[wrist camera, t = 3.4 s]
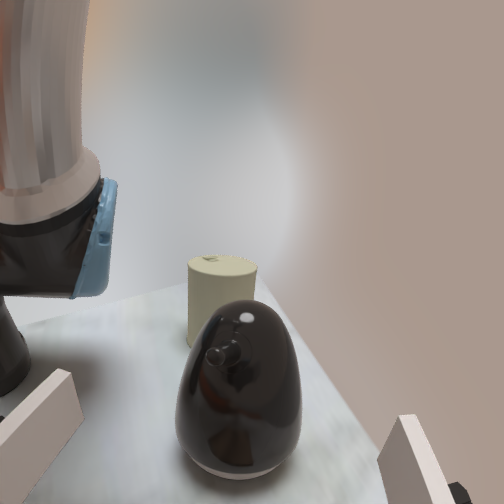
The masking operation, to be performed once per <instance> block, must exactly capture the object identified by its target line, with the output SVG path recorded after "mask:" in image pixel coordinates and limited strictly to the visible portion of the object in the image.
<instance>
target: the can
mask: <svg viewBox="0 0 504 504" xmlns="http://www.w3.org/2000/svg"><path fill="white" fill-rule="evenodd" d="M256 272H257V265H256V264H255V263H254V262H252V261H250V260H247V259H244V258H240V257H235V256H227V255H205V256H199V257H196V258H193V259H191V260H189V262H188V334H187V343H188V345H189V346H190V347H191V348H192V346H193V344H194V341H195V339H196V337H197V335H198V334H199V332H200V330H201V328H202V327H203V325H204V324H205V322H206V321H207V320H208V319H209V317H210V316H211V315H212V314H213V313H214V312H215V311H216V310H217V309H218V308H219V307H221V306H222V305H224V304H226V303H229V302H231V301H235V300H242V299H248V300H254V290H255V280H256Z"/></svg>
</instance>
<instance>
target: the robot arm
mask: <svg viewBox="0 0 504 504" xmlns="http://www.w3.org/2000/svg"><path fill="white" fill-rule="evenodd" d="M89 3H90V0H0V396H2V395H4V394H6V393H7V392H9V391H11V390H12V389H13V388H15V387H16V386H17V385H18V384H19V383H20V382H21V381H22V380H23V379H24V377H25V376H26V374H27V372H28V370H29V367H30V355H29V352H28V348H27V344H26V341H25V339H24V337H23V336H22V334H21V333H20V332H19V331H18V329H17V327H16V325H15V323H14V321H13V319H12V317H11V315H10V313H9V311H8V309H7V307H6V305H5V301H4V297H3V296H22V297H43V298H69V299H75V298H76V297H92V296H98V295H100V294H102V293H103V292H104V291H105V289H106V288H107V285H108V281H109V268H110V255H111V244H112V233H113V222H114V214H115V205H116V197H117V187H118V185H117V182H116V181H114V180H111V179H109V178H107V177H106V178H102V179H101V178H100V165H99V161H98V159H97V157H96V156H95V154H94V153H93V152H91V151H90V150H88V149H87V148H86V147H84V146H82V134H81V90H82V67H83V66H82V65H83V53H84V42H85V32H86V23H87V16H88V9H89ZM83 421H84V416H83V412H82V409H81V406H80V403H79V399H78V396H77V392H76V389H75V385H74V382H73V378H72V374H71V372H68V371H65V370H62V369H59V368H57V369H56V370H55V371H54V372H53V373H52V374H51V375H50V376H49V377H48V378H47V379H45V380H44V381H43V382H42V383H41V384H40V385H39V386H38V387H37V388H36V389H35V390H34V391H33V392H32V393H31V394H30V395H29V396H27V397H26V398H25V399H24V400H23V401H22V402H21V403H20V404H19V405H18V406H17V407H16V408H15V409H14V410H13V411H12V412H11V413H10V414H9V415H8V416H7V417H6V418H4V417H3V416H0V504H22V503H23V501H24V500H25V498H26V497H27V496H28V494H29V493H30V492H31V490H32V489H33V487H34V486H35V485H36V483H37V482H38V481H39V479H40V478H41V476H42V475H43V474H44V472H45V471H46V470H47V468H48V467H49V466H50V464H51V463H52V462H53V460H54V459H55V458H56V456H57V455H58V454H59V452H60V451H61V450H62V448H63V447H64V446H65V444H66V443H67V442H68V440H69V439H70V438H71V436H72V435H73V434H74V432H75V431H76V430H77V428H78V427H79V426H80V424H81V423H82V422H83ZM377 462H378V465H379V469H380V473H381V476H382V480H383V484H384V488H385V492H386V496H387V500H388V504H472V503H471V500H470V497H469V495H468V493H467V490H466V489H465V488H464V487H463V486H462V485H461V484H459V483H458V482H455V483H451V484H447V483H446V480H445V478H444V476H443V473H442V471H441V468H440V466H439V464H438V462H437V460H436V457H435V455H434V453H433V451H432V449H431V446H430V444H429V442H428V440H427V438H426V436H425V434H424V432H423V429H422V427H421V425H420V424H419V421H418V419H417V417H416V415H415V414H412V415H399V416H398V418H397V420H396V422H395V425H394V426H393V428H392V431H391V433H390V435H389V437H388V439H387V441H386V443H385V445H384V447H383V449H382V451H381V453H380V455H379V456H378V458H377Z"/></svg>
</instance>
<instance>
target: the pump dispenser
mask: <svg viewBox="0 0 504 504" xmlns="http://www.w3.org/2000/svg"><path fill="white" fill-rule="evenodd" d="M301 425H302V390H301V381H300V374H299V367H298V362H297V357H296V353H295V349H294V346H293V343H292V340H291V337H290V335H289V332H288V330H287V328H286V326H285V324H284V323H283V321H282V319H281V318H280V316H279V315H278V314H277V313H276V312H275V311H274V310H273V309H272V308H270V307H269V306H267V305H265V304H263V303H261V302H258V301H255V300H248V299H242V300H235V301H231V302H229V303H226V304H224V305H222V306H221V307H219V308H218V309H217V310H216V311H215V312H214V313H213V314H212V315H211V316H210V317H209V319H208V320H207V321H206V322H205V324H204V325H203V327H202V328H201V330H200V332H199V334H198V335H197V337H196V339H195V341H194V344H193V346H192V348H191V351H190V353H189V356H188V359H187V362H186V365H185V368H184V371H183V375H182V378H181V382H180V386H179V391H178V396H177V403H176V411H175V429H176V435H177V438H178V441H179V443H180V445H181V446H182V448H183V449H184V450H185V452H186V453H187V454H188V455H189V456H190V457H191V458H192V459H193V460H194V462H196V463H197V464H198V465H199V466H200V467H201V468H203V469H204V470H206V471H208V472H209V473H211V474H214V475H216V476H219V477H222V478H227V479H235V480H243V479H251V478H255V477H259V476H261V475H264V474H266V473H268V472H270V471H271V470H273V469H274V468H276V467H277V466H278V465H279V464H280V463H282V462H283V461H285V460H286V459H287V458H288V457H289V456H290V455H291V454H292V452H293V451H294V450H295V448H296V446H297V443H298V440H299V437H300V432H301Z"/></svg>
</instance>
